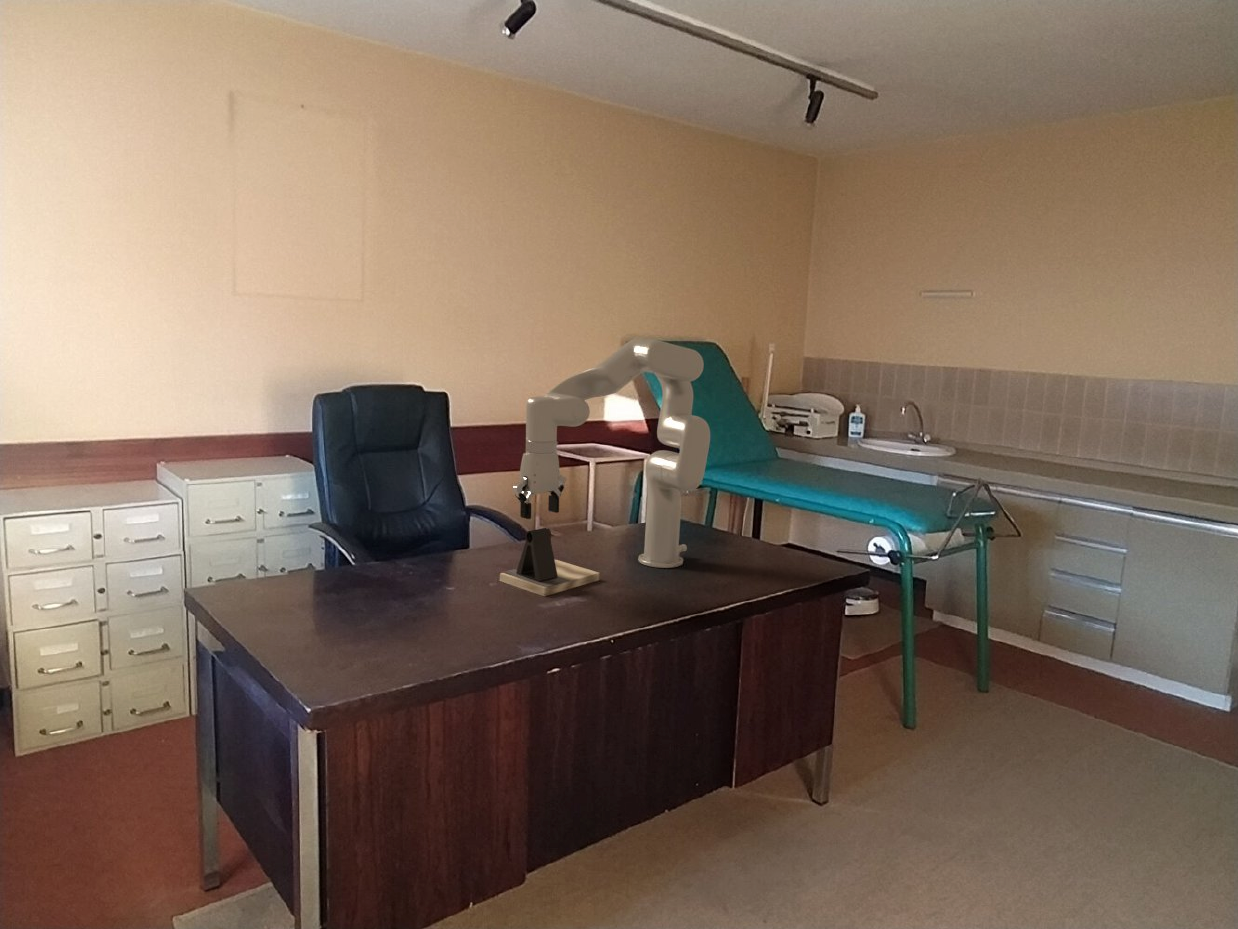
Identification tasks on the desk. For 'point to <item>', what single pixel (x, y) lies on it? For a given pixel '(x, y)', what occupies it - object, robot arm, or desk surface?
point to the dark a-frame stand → (537, 556)
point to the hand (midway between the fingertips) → (539, 514)
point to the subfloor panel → (566, 579)
